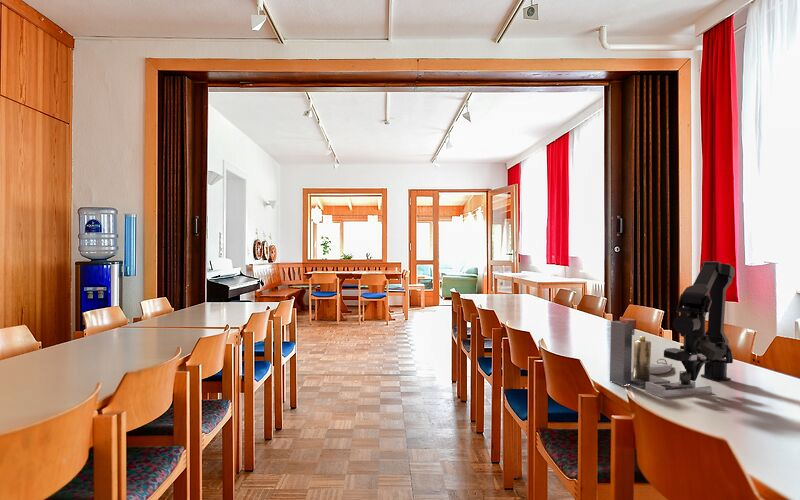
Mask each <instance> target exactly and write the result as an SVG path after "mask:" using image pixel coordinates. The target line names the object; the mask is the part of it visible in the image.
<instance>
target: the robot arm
mask: <svg viewBox="0 0 800 500" xmlns="http://www.w3.org/2000/svg"><path fill="white" fill-rule="evenodd" d="M735 272H736V271H735V267H733V266H732V265H731V264H730V263H722V262H720V261H715V260H713V261H710V260H709V261H707V260H706V261H703V262H702V263H701V268H700V271H699V273H698V275H697V276H696V278H695V280H694V281H693V284H692V285H690V286H687V287H685V289H684V290H683V292H682V293H681V294H680V295H679V299H678V302H677V307H676V311H675V312H676V313H679V315H677V316H676V317H674V319H673V321H672V327H673V329H674V330H675V332H676V333H678V334H679V336H680V337H682V338H683V342H682V343H683V345H679V348H676V347H670V348H665V349H664V350H663V358H666V359H670V360H673V361H677V362H681V364H682V366H683V367H684V369H685V371H687V372H690V373H691V381H694V382H697V378H698V376H699V374H700V371H701V369H702V367H703V366H704V368H703V369H704V370H703V373H704V374H700V377H703V378H706V379H708V380H713V381H716V382H720V381H721V382H722V381H731V380H732V378H731V377H727V376H728V375H727V369H728V364H734V363H733V362H734V355H733V352H732V349H731V346H730V345H729V344H730V343H729V339H728V336H726V334H725V331H724V330H725V329H724V328H725V327H724V326H725V311H726V298H727V297H726V294H727V289H728V288H729V286H730V285H732V283H733V278H734V277H735V274H736V273H735ZM707 313H708V315H707ZM706 316H708V317H706ZM706 318H708V319H707V330H706Z"/></svg>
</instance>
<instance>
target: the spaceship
mask: <svg viewBox="0 0 800 500" xmlns="http://www.w3.org/2000/svg"><path fill="white" fill-rule="evenodd" d="M659 361H660V362H659ZM663 361H664V362H663ZM672 368H673V363H668V362H667V359H664V358H659V359H657V361H656V362H654V363H650V375H659V374H660V375H661V374H666V373H668V372H669V371H672Z"/></svg>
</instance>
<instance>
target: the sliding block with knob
mask: <svg viewBox="0 0 800 500" xmlns="http://www.w3.org/2000/svg"><path fill="white" fill-rule="evenodd" d="M678 375H679V380H678V382H677V381H676V382H670V383H665V390H676V389H686V388H693V384H691V373H690V372H687V371H686V370H680V371H679V374H678Z"/></svg>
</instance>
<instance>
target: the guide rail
mask: <svg viewBox="0 0 800 500" xmlns="http://www.w3.org/2000/svg"><path fill="white" fill-rule="evenodd" d="M696 382H697V381H691V384H693V388H686V389H676V390H665V384H654V383H651V382H646V384H645V388H644V389H645V391H644V392H646V393H649V394H651V395H654V396H657V397H659V398H662V399H664V398H674V397H683V396H693V395H702V394H711V393H712V392H713V391H712V390H713V387H712V386H710V385H709V386H697V387H696Z"/></svg>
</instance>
